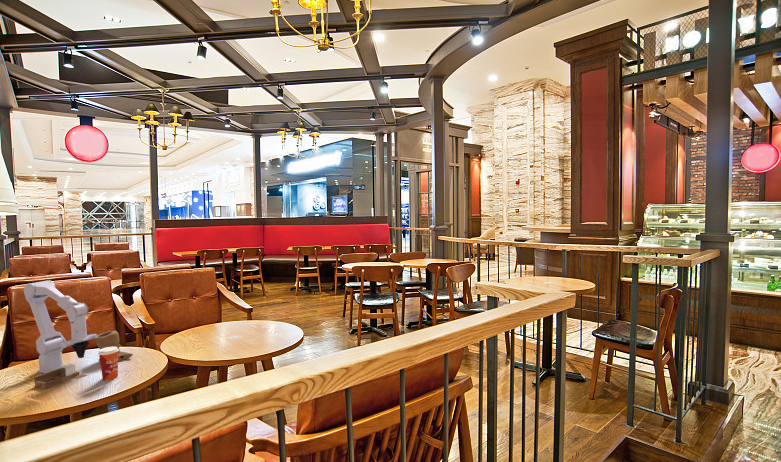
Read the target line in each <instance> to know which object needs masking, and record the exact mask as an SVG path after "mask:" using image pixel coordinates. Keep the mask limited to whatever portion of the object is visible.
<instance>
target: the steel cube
mask: <svg viewBox="0 0 781 462" xmlns="http://www.w3.org/2000/svg"><path fill="white" fill-rule="evenodd" d="M74 373H76V364H73V363H68V364H65V365H64V364H63V366H61V367H60V376H65V377H66V376H69V375H72V374H74Z"/></svg>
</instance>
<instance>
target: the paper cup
mask: <svg viewBox="0 0 781 462" xmlns="http://www.w3.org/2000/svg"><path fill="white" fill-rule="evenodd" d="M119 350H120V348H119V349H118V348H117V347H107V348H103V349H101V350H100V349H99V351H98V353H97V355H99V363H100V364H99V365H100V370H101V376H102V377H101V378H102V381H112V380H114V379H116V378H117V377H118V376H119V361H118V351H119Z"/></svg>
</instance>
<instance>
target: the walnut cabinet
mask: <svg viewBox="0 0 781 462" xmlns="http://www.w3.org/2000/svg"><path fill="white" fill-rule="evenodd" d="M75 371H76V370H75ZM87 376H88V375H87V374H83V373H80V371H76V373H74V374H72V375H69V376H66V377H65V376H60V368H59V369H56V370H53V371H50V372H47V373H42V374H38V375H36V376H34V377H33V378H34V387H35V388H38V389H39V388H40V389H43V390H47V389H50V388H53V387H54V386H57V385H60V384H62V383H63V382H64V381H67V380H69V379H74V380H79V379H82V378H85V377H87Z"/></svg>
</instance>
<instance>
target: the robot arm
mask: <svg viewBox="0 0 781 462" xmlns="http://www.w3.org/2000/svg"><path fill="white" fill-rule="evenodd" d="M23 293H24V298H25V300H26V302H27V303H28V304H29V306H30V309H31V312H32V314H33V317H34V321H35V323H36V325H37V328H38V331H39V333H40V336H39V337H38V338H37V339H36V340H35V344H36V348H35V349H36V352H37V353H38V354H39V356H38V370H36V372H38V373H42V374H44V373H47V372H50V371H53V370H56V369H59V368H60V367H61V366H64V364H63V363H64V362H63V350H64V349H66V348H67V347H71V348H72V349H73V350H74V351H75V353H76V355H77V359H82V358H85V353H86V350H87V347H88V345H90V342H89V340H93V339H94V340H95V338H97V336H98V333H91V334H88V332H87V331H88V330H87V317H86V315H87V314H88V313H89V307H88V305H87V304H86V302H78V301H77V300H75V298H72V297H71V296H70V295H64V294H63V293H62V292H60V290H58V289H57V288H56V284H55V282H53V281H52V280H50V279H48V280H44V281H43V280H42V281H37V282H32V283H31V282H29V283H26V284H25V286H24V288H23ZM47 298H50V299H53V300H54V301H55V302H56V305H57V306H58V307H60V308H61V309H62V310H63V311H65V313H66V314H65V315H66V316H67V317H68V321H69V322H70V333H71V339H70V340H69V339H68V340H66V339H65V337H64V336H63V334H62V333H61V332H60V331H56V330H55V328H54V325H53V322H52V320H51V318H50V315H49V311H48V308H47V306H46V303H45V300H47Z"/></svg>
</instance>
